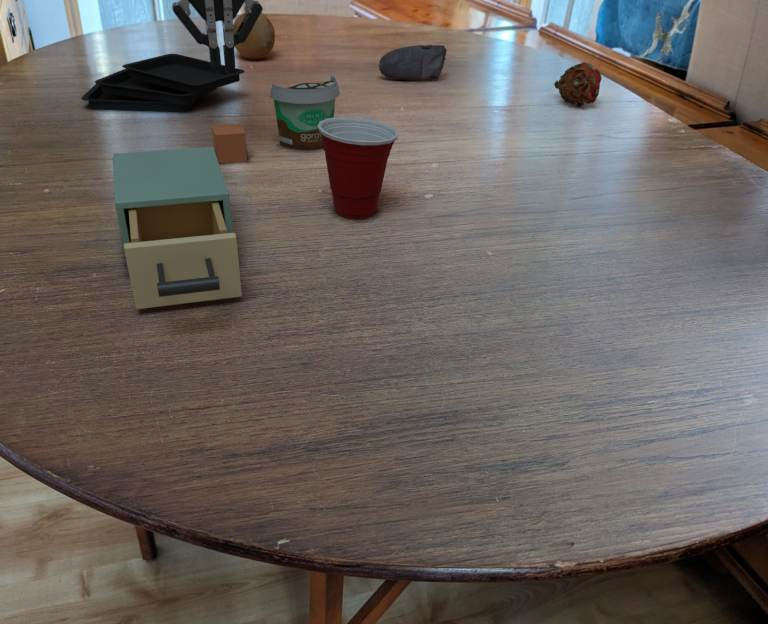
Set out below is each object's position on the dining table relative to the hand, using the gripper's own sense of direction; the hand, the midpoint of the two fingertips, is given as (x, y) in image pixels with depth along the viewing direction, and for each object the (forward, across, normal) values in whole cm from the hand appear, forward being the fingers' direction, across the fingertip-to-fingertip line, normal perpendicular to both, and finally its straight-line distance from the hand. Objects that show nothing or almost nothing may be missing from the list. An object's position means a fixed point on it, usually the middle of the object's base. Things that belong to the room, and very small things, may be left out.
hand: (223, 72), depth 109 cm
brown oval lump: (+13, -14, -61) cm, 64 cm away
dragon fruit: (+13, -72, -17) cm, 75 cm away
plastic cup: (+13, -14, +24) cm, 31 cm away
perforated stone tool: (+13, -44, -39) cm, 60 cm away
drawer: (+12, +10, +41) cm, 44 cm away
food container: (+13, -14, -3) cm, 20 cm away
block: (+13, 0, 0) cm, 13 cm away
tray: (+13, +8, -34) cm, 38 cm away
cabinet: (+13, +10, +28) cm, 32 cm away
